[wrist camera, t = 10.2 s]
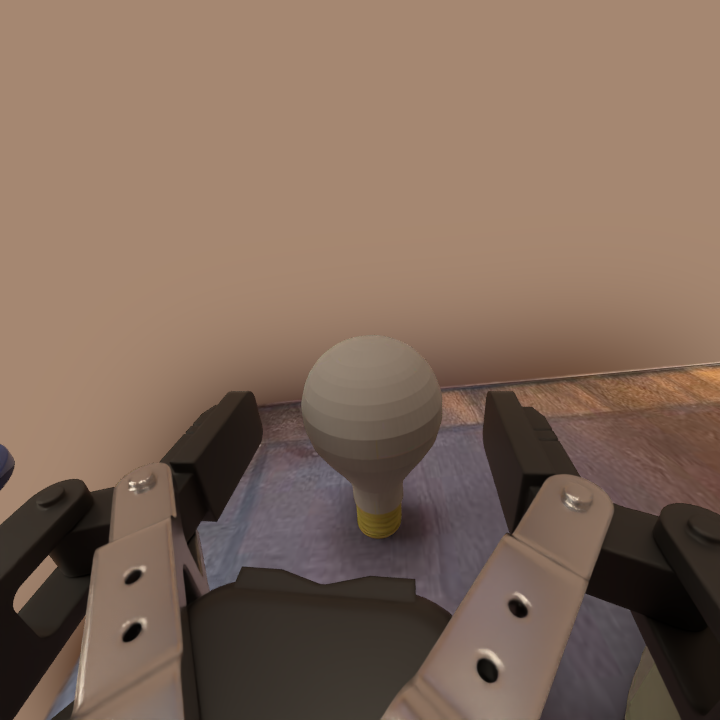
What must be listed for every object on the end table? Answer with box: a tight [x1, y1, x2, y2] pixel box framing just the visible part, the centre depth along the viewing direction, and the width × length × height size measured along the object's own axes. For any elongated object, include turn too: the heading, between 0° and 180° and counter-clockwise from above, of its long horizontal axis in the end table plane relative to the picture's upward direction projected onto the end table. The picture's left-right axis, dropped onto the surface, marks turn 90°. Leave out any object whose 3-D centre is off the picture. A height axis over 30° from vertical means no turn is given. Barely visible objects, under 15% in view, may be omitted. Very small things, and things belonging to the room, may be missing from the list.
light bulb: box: [301, 335, 442, 539], centre depth 15 cm, size 6×6×10 cm
